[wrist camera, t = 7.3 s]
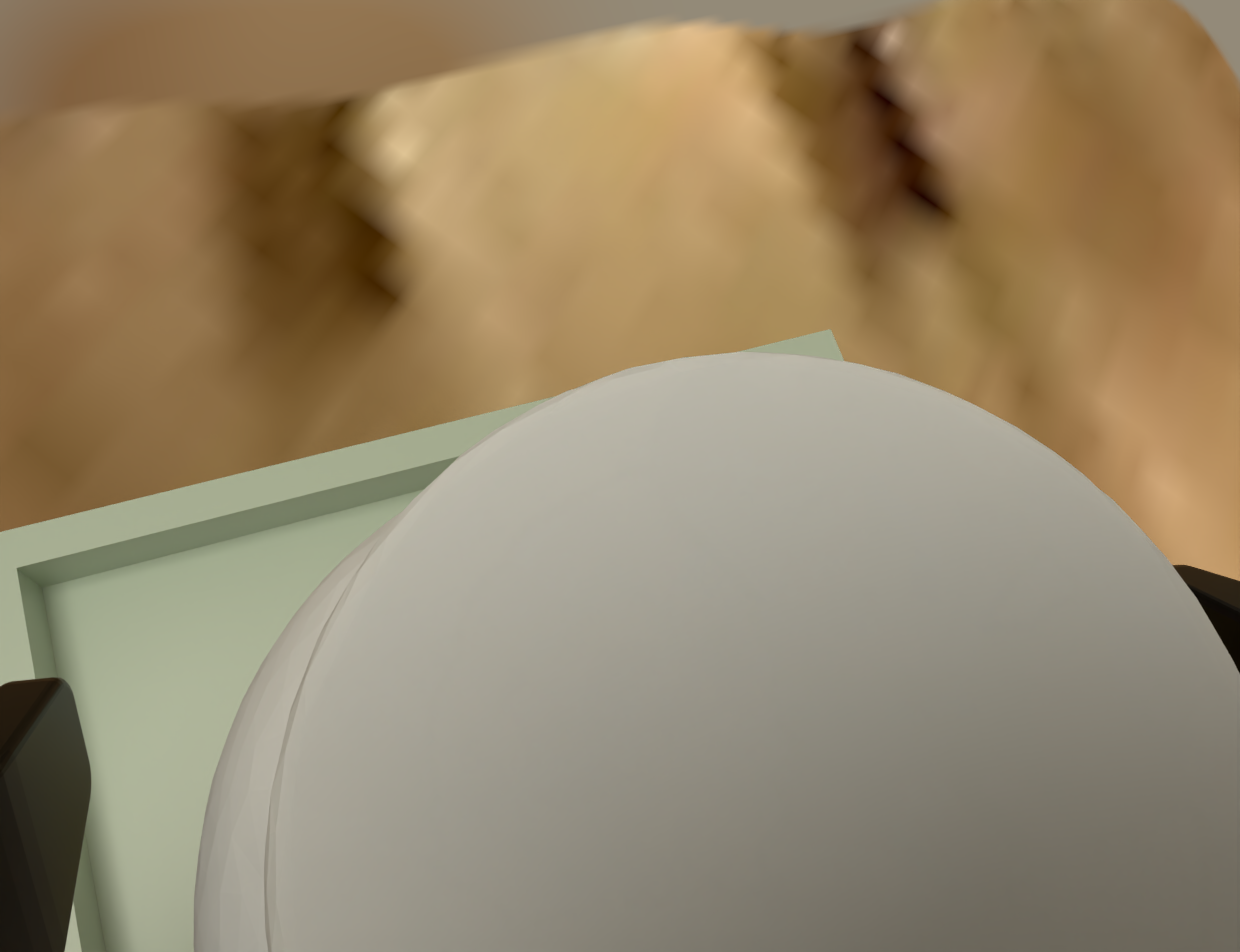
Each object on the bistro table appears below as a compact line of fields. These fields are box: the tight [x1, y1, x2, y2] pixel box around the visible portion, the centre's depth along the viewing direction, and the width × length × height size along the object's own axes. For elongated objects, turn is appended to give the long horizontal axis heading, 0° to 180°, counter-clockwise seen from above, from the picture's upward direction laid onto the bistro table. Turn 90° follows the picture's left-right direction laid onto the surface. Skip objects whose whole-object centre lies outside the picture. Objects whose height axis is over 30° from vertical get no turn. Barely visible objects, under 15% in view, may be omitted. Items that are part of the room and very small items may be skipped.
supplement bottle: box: [194, 352, 1240, 952], centre depth 11 cm, size 7×7×13 cm
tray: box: [0, 329, 844, 952], centre depth 16 cm, size 14×14×2 cm
